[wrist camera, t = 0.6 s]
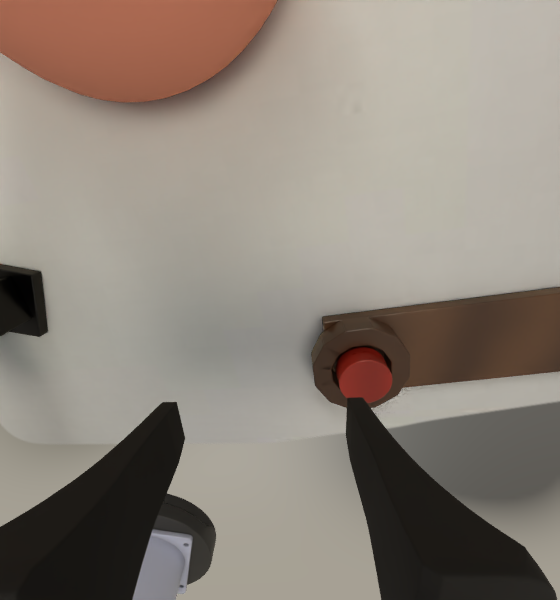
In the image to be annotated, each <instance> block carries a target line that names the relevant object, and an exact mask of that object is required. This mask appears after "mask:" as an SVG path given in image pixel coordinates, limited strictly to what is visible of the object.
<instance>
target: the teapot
mask: <svg viewBox="0 0 560 600" xmlns="http://www.w3.org/2000/svg"><path fill="white" fill-rule="evenodd" d="M276 2H277V0H0V52H1V53H2V54H3V55H5V56H7V57H8V58H10V59H11V60H13V61H14V62H16V63H18V64H19V65H21V66H22V67H24V68H26V69H27V70H29V71H31V72H33V73H34V74H36V75H38V76H39V77H41V78H43V79H45V80H47V81H49V82H52V83H54V84H56V85H59V86H61V87H63V88H66V89H68V90H71V91H73V92H75V93H78V94H81V95H85V96H88V97H92V98H96V99H100V100H107V101H115V102H146V101H152V100H158V99H163V98H167V97H170V96H173V95H176V94H179V93H182V92H185V91H187V90H189V89H191V88H193V87H195V86H197V85H199V84H201V83H203V82H205V81H207V80H208V79H210V78H211V77H212V76H214V75H215V74H217V73H218V72H219V71H221V70H222V69H223V68H225V67H226V66H227V65H228V64H229V63H230V62H231V61H232V60H233V59H235V58H236V57H237V56H238V55H239V54H240V53H241V52H242V51H243V50H244V49H245V48H246V46H247V45H248V44H249V43H250V41H251V40H252V39H253V38H254V36H255V35H256V34H257V33H258V31H259V30H260V29H261V27H262V26H263V24H264V22H265V21H266V19H267V18H268V16H269V14H270V13H271V11H272V10H273V8H274V6H275V4H276Z"/></svg>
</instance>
